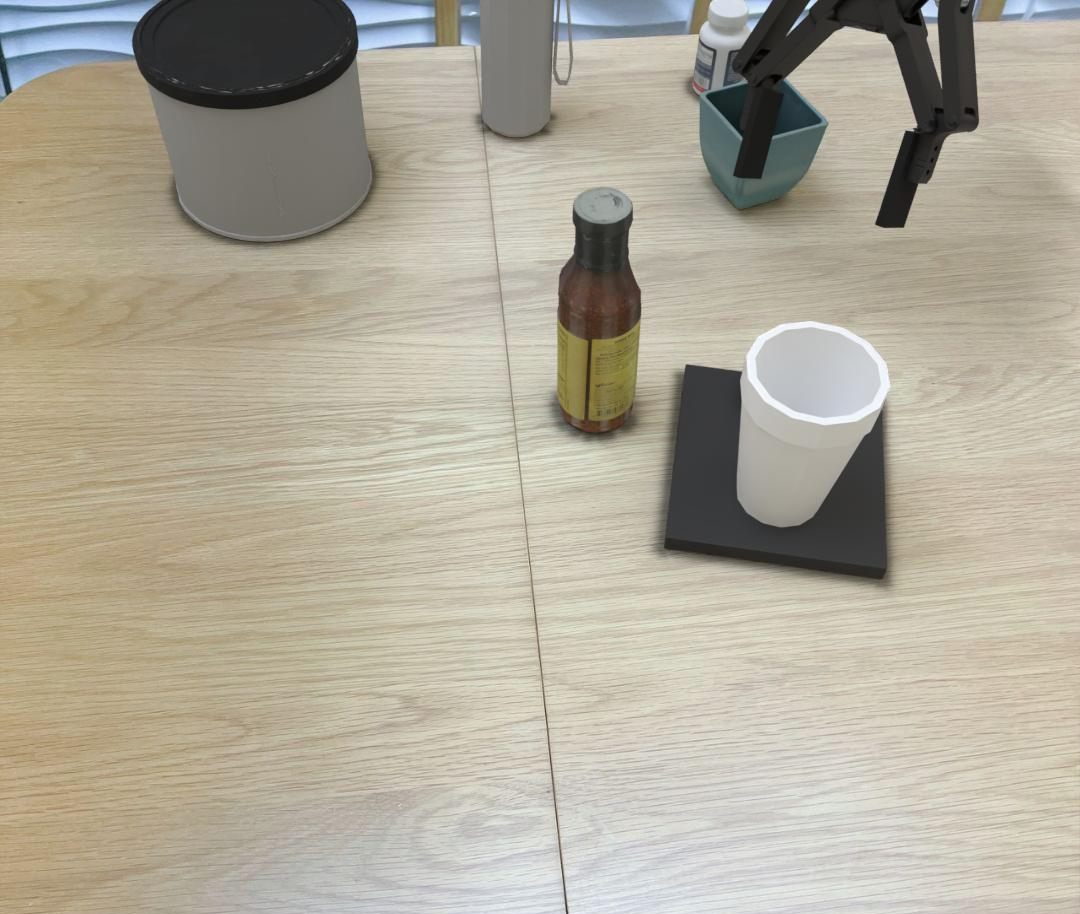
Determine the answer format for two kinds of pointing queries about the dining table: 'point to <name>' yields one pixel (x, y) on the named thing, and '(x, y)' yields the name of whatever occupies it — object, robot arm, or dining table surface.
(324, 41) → the container
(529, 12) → the water bottle
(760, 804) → the dining table surface
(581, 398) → the sauce bottle
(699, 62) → the pill bottle
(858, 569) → the scale
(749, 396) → the foam cup
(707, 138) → the flower pot
